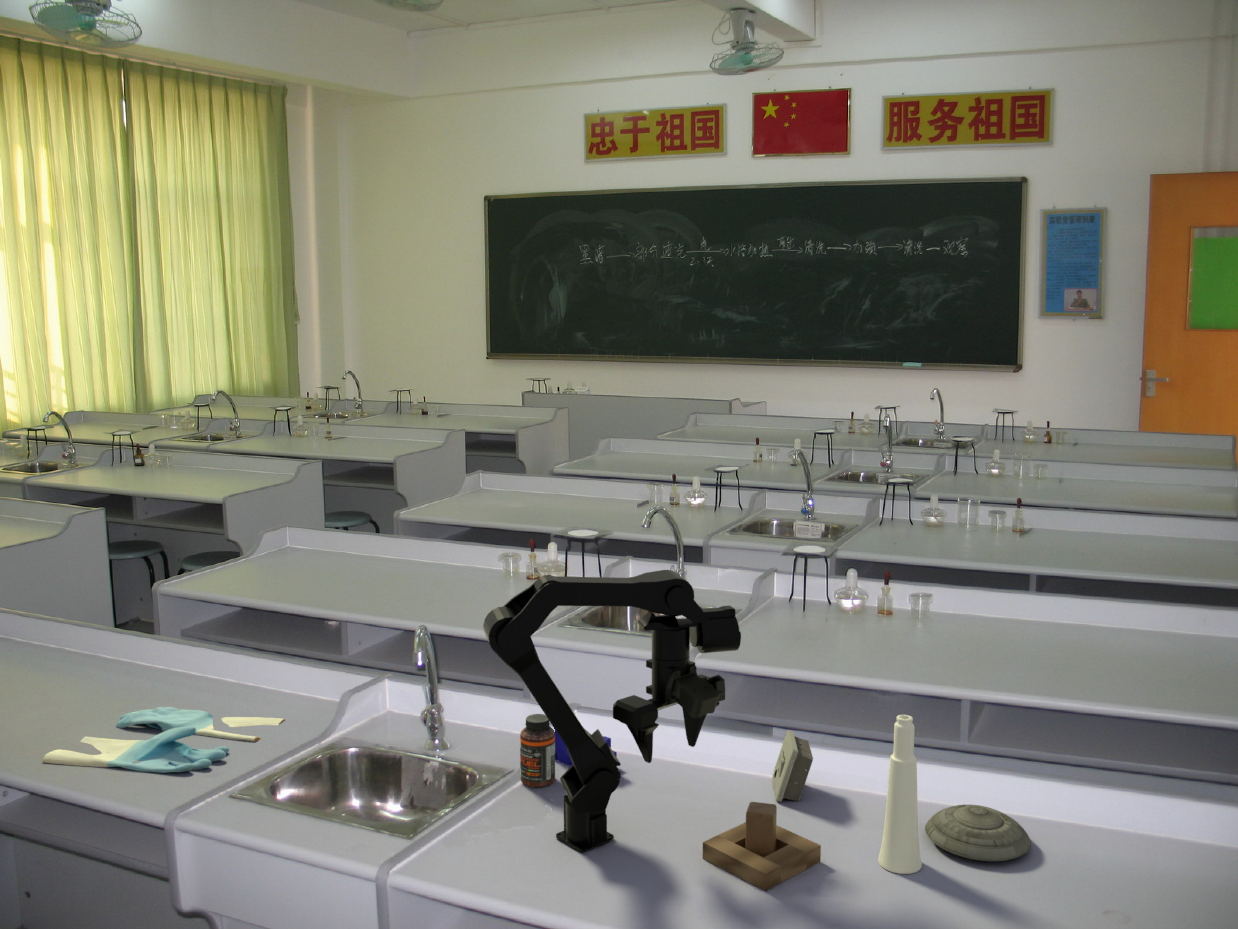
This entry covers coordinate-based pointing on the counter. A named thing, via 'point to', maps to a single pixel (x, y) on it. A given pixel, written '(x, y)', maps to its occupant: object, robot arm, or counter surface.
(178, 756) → the rubber gloves
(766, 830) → the wooden block
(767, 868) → the socket collar
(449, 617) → the counter surface
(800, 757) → the electrical switch
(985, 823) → the flying saucer
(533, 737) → the supplement bottle
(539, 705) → the robot arm
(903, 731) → the cosmetic bottle
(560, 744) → the cable clip
